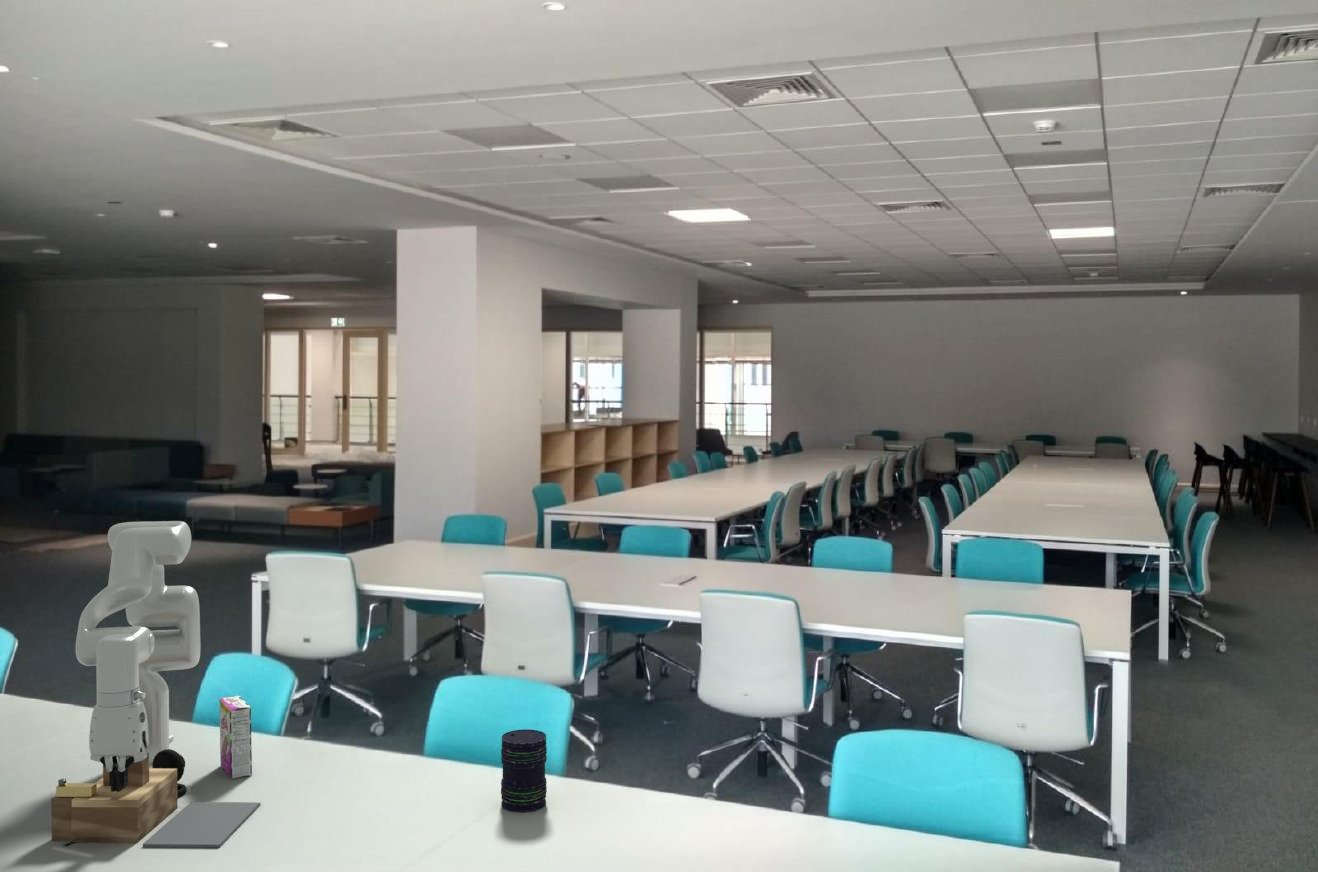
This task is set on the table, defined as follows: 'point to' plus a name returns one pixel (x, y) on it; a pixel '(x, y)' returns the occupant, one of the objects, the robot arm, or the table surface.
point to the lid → (129, 787)
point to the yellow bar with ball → (75, 789)
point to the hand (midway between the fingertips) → (118, 789)
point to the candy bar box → (235, 737)
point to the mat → (203, 825)
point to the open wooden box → (111, 818)
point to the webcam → (171, 766)
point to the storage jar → (523, 771)
